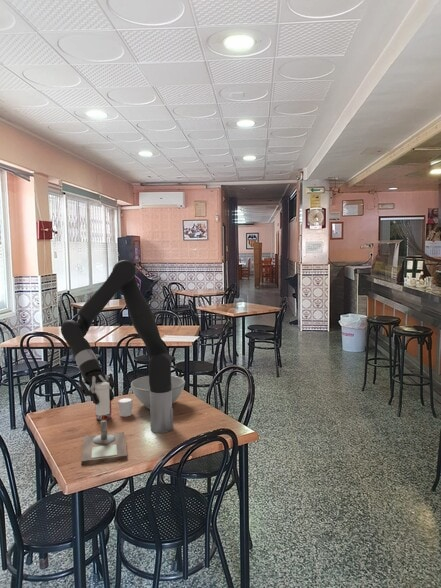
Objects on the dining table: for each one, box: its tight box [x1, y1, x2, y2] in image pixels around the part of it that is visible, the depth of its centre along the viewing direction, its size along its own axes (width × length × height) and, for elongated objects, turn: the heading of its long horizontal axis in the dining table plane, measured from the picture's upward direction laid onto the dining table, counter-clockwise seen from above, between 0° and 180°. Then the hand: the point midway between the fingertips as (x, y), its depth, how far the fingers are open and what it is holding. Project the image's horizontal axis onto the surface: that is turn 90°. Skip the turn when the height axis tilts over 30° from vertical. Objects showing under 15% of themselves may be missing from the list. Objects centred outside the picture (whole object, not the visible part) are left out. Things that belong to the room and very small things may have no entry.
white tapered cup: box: [117, 397, 134, 418], centre depth 201 cm, size 7×7×7 cm
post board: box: [80, 420, 128, 466], centre depth 164 cm, size 16×22×9 cm
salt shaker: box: [94, 381, 110, 416], centre depth 158 cm, size 5×5×11 cm
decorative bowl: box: [130, 374, 186, 410], centre depth 213 cm, size 27×27×12 cm
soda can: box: [94, 400, 112, 421], centre depth 196 cm, size 7×7×12 cm
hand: (105, 401), depth 157 cm, fingers closed on salt shaker, 5 cm apart
